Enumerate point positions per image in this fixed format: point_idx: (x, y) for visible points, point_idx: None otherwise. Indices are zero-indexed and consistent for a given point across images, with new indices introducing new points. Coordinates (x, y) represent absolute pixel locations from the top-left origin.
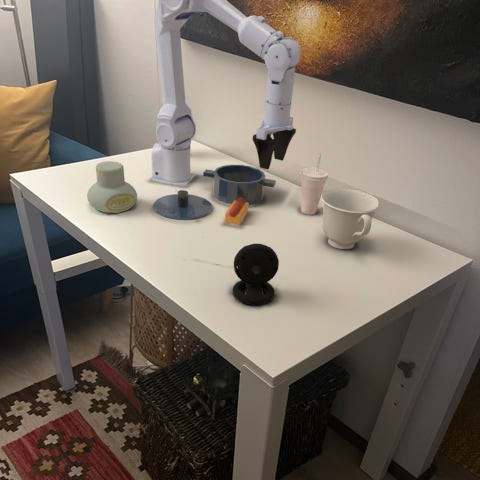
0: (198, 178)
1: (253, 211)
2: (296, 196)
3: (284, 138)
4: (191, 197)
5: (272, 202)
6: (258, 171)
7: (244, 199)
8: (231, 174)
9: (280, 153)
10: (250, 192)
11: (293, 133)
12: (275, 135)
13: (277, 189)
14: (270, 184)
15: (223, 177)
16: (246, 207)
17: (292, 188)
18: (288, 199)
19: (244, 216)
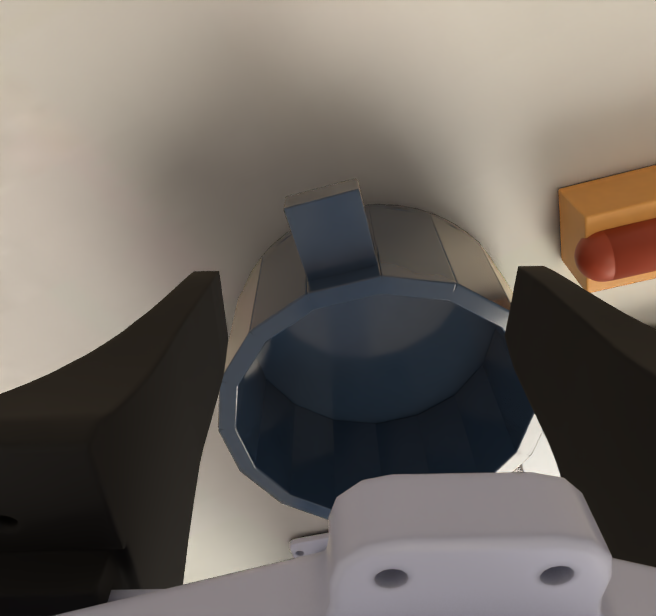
0: (293, 524)
1: (506, 178)
2: (104, 61)
3: (158, 437)
4: (551, 454)
5: (314, 150)
6: (250, 363)
7: (599, 248)
8: (294, 453)
9: (208, 332)
10: (480, 269)
11: (51, 414)
12: (180, 540)
13: (110, 218)
14: (363, 210)
15: (340, 462)
16: (633, 199)
17: (10, 150)
18: (195, 85)
19: (650, 173)
